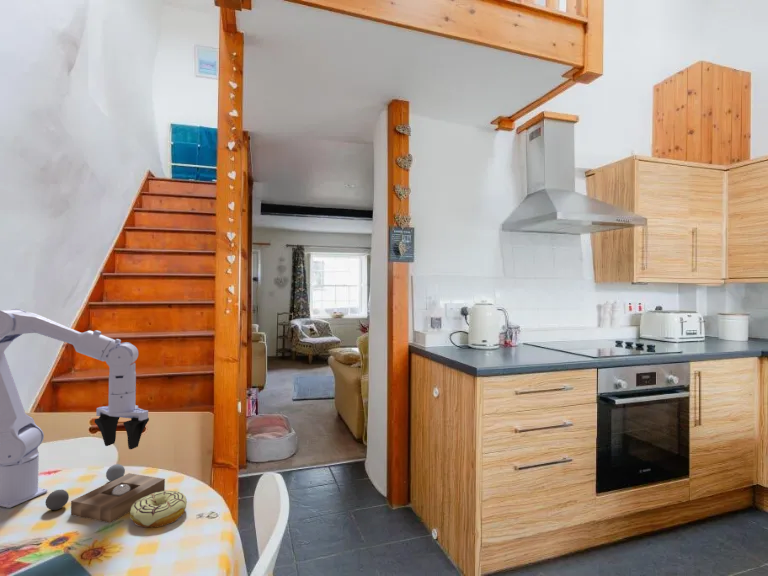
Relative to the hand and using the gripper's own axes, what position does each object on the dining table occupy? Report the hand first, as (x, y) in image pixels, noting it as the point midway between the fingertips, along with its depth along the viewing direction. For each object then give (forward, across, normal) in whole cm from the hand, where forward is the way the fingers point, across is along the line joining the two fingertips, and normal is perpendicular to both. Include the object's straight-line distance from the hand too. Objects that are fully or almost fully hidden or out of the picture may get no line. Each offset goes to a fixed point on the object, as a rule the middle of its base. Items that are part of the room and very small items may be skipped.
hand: (121, 446), depth 100 cm
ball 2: (+7, +3, -1) cm, 8 cm away
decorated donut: (+10, -21, +9) cm, 25 cm away
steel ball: (+7, -8, +7) cm, 13 cm away
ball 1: (+7, +3, +13) cm, 15 cm away
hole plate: (+9, -8, +7) cm, 14 cm away
